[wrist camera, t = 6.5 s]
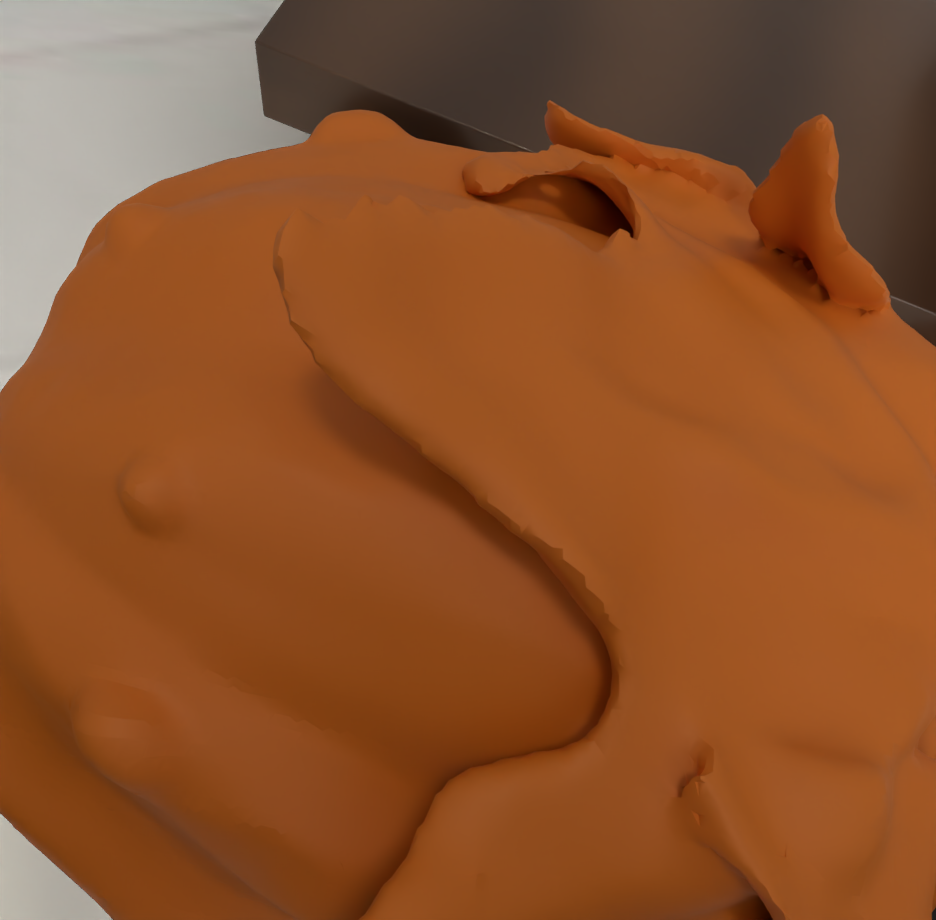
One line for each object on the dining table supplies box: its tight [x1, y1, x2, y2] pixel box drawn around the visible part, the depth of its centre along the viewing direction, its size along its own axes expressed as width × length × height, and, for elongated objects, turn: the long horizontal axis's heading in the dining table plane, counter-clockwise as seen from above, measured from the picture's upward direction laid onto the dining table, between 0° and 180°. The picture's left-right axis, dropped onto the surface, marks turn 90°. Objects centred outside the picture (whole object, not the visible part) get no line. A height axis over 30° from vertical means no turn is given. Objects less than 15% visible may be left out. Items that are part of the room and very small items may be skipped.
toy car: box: [255, 0, 936, 347], centre depth 23 cm, size 26×21×12 cm
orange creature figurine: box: [0, 100, 936, 920], centre depth 12 cm, size 11×11×18 cm
